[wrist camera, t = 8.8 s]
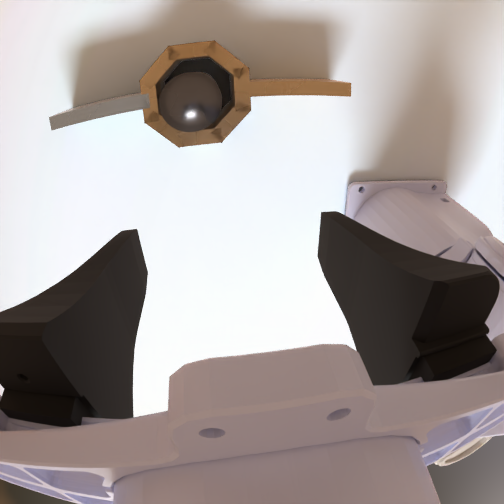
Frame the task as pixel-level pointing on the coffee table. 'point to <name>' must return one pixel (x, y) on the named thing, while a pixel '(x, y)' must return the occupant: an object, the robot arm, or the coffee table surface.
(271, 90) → the hinge
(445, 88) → the coffee table surface
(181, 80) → the hinge pin
